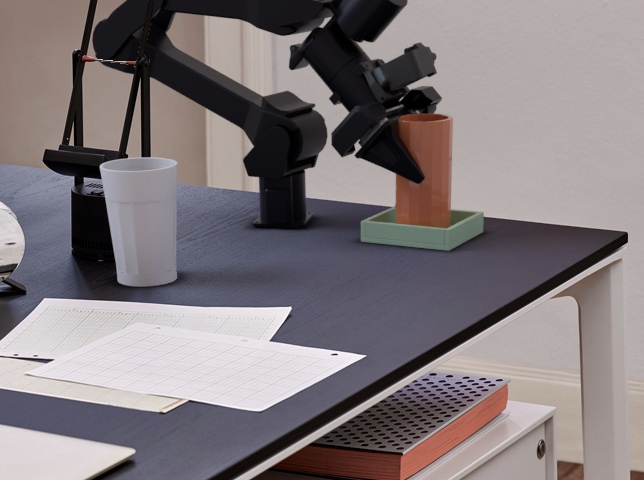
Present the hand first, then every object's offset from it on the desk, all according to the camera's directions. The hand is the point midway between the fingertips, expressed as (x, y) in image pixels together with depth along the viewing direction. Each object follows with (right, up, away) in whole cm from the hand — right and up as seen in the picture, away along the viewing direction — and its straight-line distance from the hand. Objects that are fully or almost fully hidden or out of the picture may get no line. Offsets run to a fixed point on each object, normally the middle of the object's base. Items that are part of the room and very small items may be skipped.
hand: (434, 175), depth 156 cm
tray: (-1, -6, +4) cm, 7 cm away
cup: (-32, -14, -11) cm, 36 cm away
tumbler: (-1, -6, +3) cm, 7 cm away
